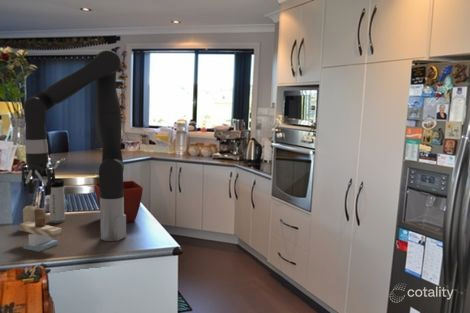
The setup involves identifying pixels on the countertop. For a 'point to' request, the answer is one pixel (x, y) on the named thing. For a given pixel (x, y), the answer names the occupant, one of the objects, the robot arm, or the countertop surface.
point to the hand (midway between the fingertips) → (39, 194)
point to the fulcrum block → (39, 242)
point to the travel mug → (57, 202)
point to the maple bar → (40, 225)
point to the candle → (29, 214)
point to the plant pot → (127, 198)
